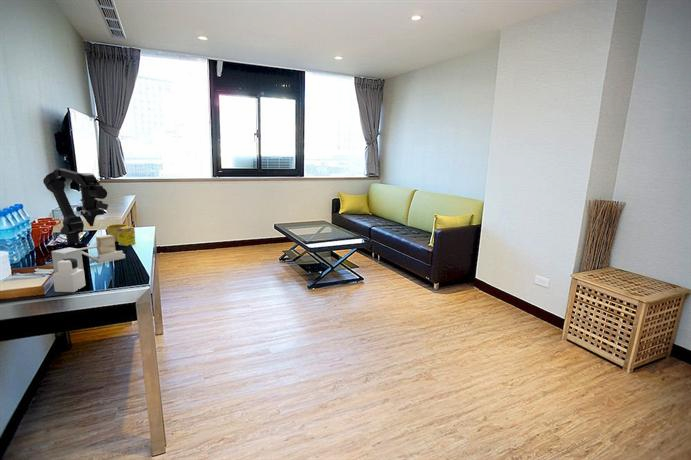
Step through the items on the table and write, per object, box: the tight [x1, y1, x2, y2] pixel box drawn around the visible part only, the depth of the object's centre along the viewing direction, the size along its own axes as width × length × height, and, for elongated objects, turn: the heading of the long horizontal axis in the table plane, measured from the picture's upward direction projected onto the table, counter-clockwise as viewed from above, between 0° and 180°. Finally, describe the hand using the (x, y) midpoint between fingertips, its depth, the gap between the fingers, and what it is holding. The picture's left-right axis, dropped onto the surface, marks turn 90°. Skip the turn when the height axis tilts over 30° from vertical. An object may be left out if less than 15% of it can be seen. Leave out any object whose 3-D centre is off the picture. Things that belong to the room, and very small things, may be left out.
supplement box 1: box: [50, 247, 84, 274], centre depth 146 cm, size 7×7×13 cm
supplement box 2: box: [117, 225, 136, 247], centre depth 197 cm, size 6×6×11 cm
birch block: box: [95, 234, 117, 258], centre depth 174 cm, size 5×6×10 cm
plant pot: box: [106, 223, 128, 243], centre depth 204 cm, size 10×10×10 cm
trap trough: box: [78, 245, 126, 264], centre depth 179 cm, size 26×12×4 cm, turn 57°
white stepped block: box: [52, 258, 87, 293], centre depth 137 cm, size 7×7×12 cm
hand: (91, 226), depth 189 cm, fingers closed
